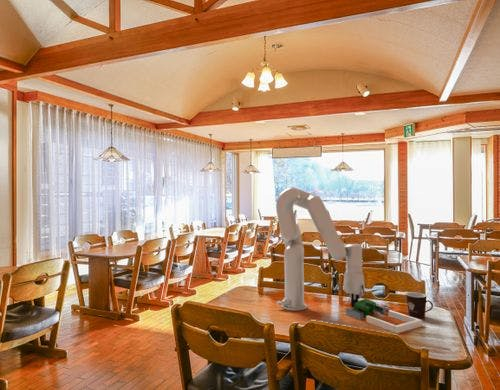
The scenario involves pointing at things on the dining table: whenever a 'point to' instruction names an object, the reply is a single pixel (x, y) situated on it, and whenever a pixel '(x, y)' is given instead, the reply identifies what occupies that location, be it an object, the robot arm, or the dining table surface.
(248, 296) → the dining table surface
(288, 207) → the robot arm
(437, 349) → the dining table surface
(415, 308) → the coffee mug
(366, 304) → the green lumpy block
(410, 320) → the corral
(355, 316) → the vise
